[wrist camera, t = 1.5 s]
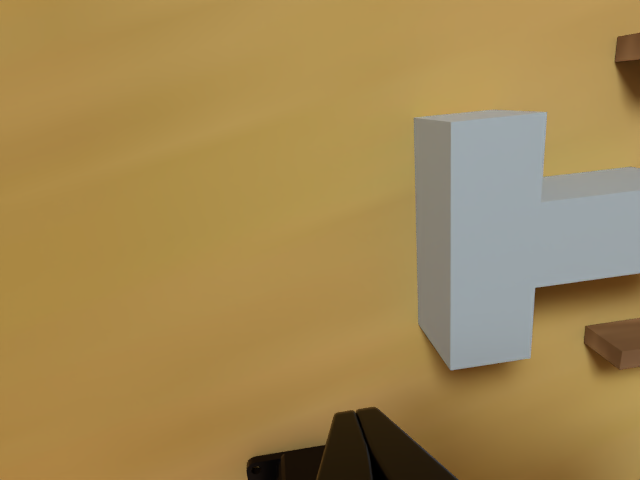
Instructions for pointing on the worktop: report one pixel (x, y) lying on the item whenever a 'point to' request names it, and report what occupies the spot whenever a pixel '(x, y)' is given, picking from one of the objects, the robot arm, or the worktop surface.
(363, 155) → the worktop surface
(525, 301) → the t block
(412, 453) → the robot arm
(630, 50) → the dock
